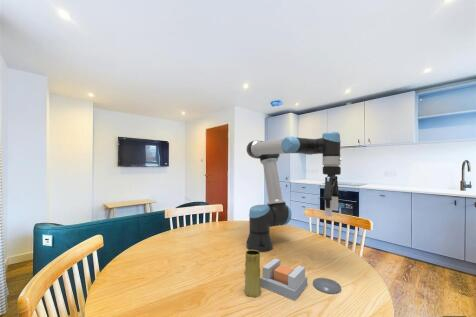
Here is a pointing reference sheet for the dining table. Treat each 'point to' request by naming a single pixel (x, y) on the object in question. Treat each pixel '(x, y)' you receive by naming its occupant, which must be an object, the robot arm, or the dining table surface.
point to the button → (282, 274)
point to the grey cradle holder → (292, 290)
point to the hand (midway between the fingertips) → (331, 212)
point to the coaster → (326, 285)
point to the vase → (252, 273)
